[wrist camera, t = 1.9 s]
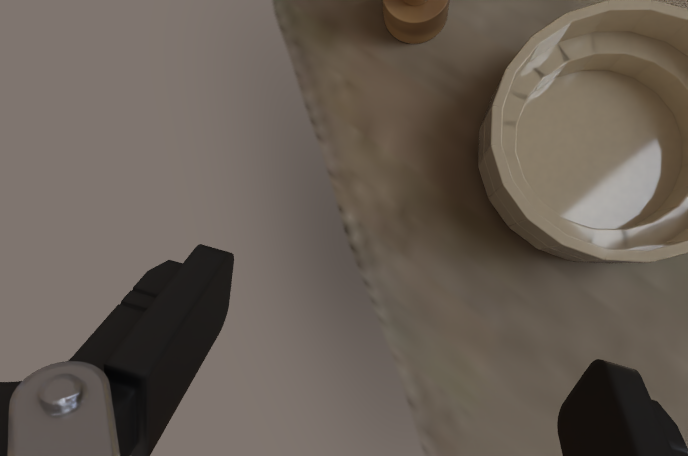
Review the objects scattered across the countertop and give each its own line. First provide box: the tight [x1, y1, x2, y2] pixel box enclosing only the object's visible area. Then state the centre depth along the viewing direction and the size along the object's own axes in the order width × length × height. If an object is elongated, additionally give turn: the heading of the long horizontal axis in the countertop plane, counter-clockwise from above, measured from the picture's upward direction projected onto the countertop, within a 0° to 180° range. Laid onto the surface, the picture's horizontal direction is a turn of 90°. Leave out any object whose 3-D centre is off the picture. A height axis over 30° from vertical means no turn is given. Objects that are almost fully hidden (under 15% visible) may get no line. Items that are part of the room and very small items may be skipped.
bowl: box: [478, 0, 688, 263], centre depth 30 cm, size 14×14×6 cm
